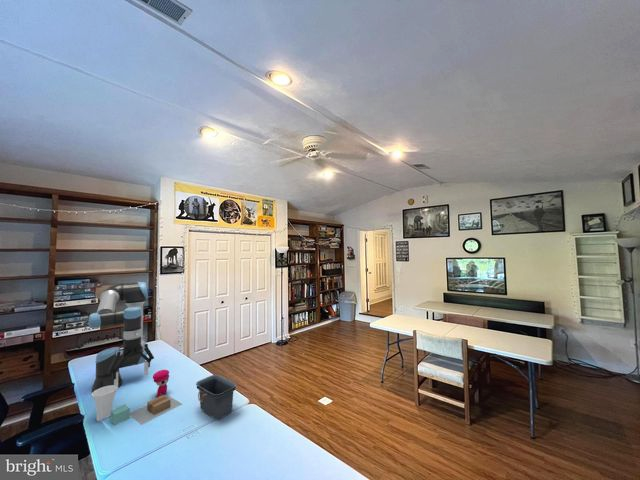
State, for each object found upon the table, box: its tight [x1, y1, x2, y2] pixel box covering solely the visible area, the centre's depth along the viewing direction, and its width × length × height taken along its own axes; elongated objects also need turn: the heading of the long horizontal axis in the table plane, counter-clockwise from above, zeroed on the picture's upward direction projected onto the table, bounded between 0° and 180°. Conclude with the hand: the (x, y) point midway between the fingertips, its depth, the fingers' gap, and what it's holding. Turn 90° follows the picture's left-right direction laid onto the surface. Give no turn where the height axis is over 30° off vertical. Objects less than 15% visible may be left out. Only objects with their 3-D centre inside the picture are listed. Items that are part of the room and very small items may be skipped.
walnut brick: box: [146, 394, 171, 415], centre depth 138 cm, size 8×8×4 cm
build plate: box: [130, 395, 183, 426], centre depth 137 cm, size 16×20×1 cm
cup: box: [91, 385, 118, 422], centre depth 133 cm, size 10×10×14 cm
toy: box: [152, 369, 170, 398], centre depth 151 cm, size 8×8×15 cm
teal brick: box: [109, 404, 131, 426], centre depth 129 cm, size 6×6×6 cm
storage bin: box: [195, 374, 238, 421], centre depth 135 cm, size 21×16×14 cm
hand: (131, 379), depth 133 cm, fingers open, 13 cm apart
